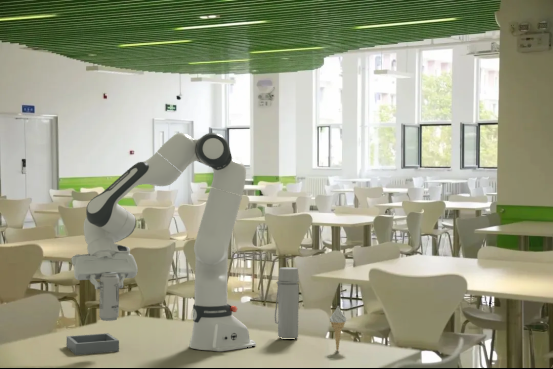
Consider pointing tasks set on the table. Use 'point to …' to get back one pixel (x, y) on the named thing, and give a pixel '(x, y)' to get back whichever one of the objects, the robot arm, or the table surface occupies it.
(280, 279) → the water bottle
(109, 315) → the energy drink can
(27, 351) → the table surface
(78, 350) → the gray tray
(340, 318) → the ice cream cone
